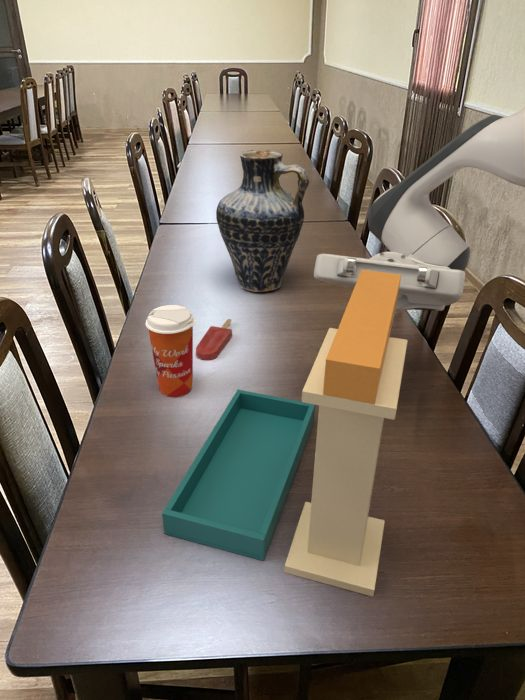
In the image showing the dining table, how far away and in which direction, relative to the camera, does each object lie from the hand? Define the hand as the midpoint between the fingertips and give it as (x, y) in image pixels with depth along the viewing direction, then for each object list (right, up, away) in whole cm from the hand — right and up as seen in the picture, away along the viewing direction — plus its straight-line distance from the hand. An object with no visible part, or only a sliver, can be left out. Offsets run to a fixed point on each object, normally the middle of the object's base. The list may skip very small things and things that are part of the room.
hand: (385, 268), depth 68 cm
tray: (-18, -27, +6) cm, 33 cm away
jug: (-16, +5, +61) cm, 63 cm away
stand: (-7, -34, -5) cm, 35 cm away
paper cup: (-30, -17, +23) cm, 42 cm away
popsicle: (-24, -9, +37) cm, 45 cm away
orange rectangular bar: (-5, -10, -15) cm, 18 cm away
